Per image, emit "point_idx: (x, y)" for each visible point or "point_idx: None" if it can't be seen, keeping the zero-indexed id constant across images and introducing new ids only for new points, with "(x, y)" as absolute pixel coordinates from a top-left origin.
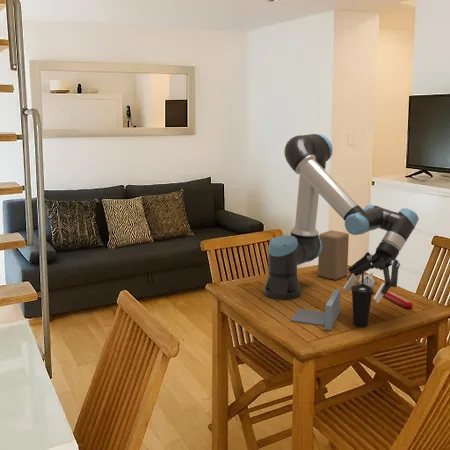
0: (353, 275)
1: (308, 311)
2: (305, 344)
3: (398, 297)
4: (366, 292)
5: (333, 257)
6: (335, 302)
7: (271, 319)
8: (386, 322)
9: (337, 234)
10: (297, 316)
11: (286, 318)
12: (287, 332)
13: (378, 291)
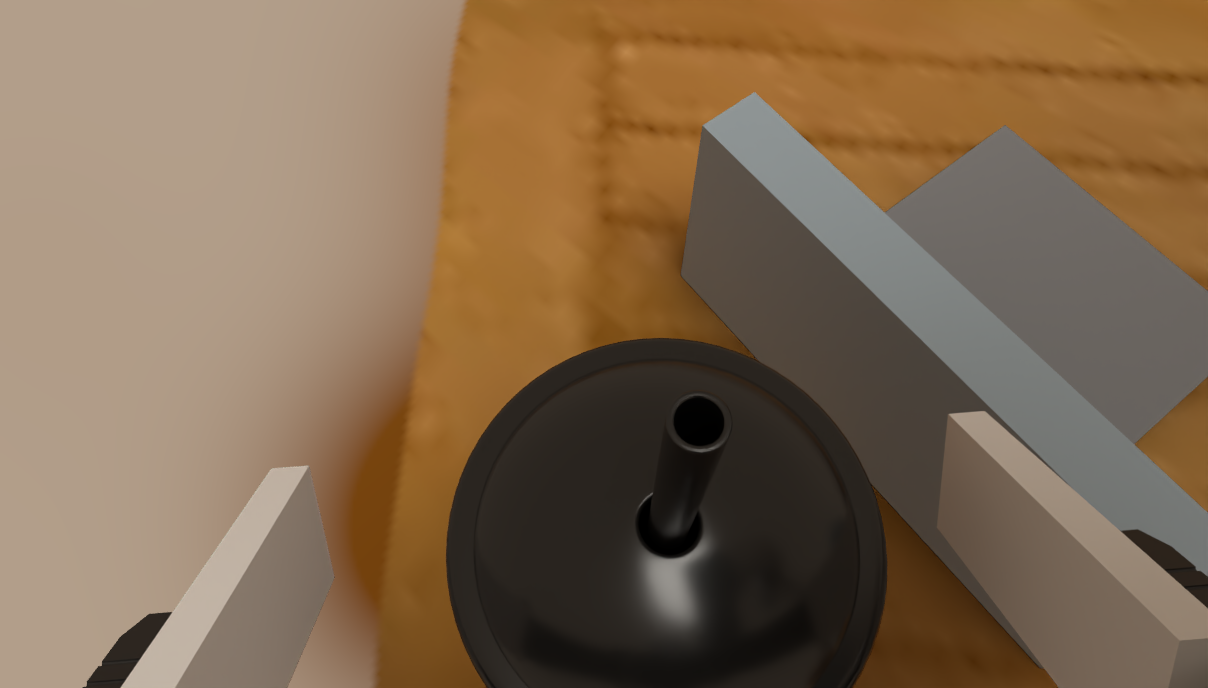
0: (1145, 627)
1: (1148, 361)
2: (580, 5)
3: None
4: (470, 459)
5: None
6: (887, 349)
7: (1101, 51)
8: None
9: None
10: (1060, 208)
11: (1079, 145)
12: (816, 17)
13: (231, 555)
